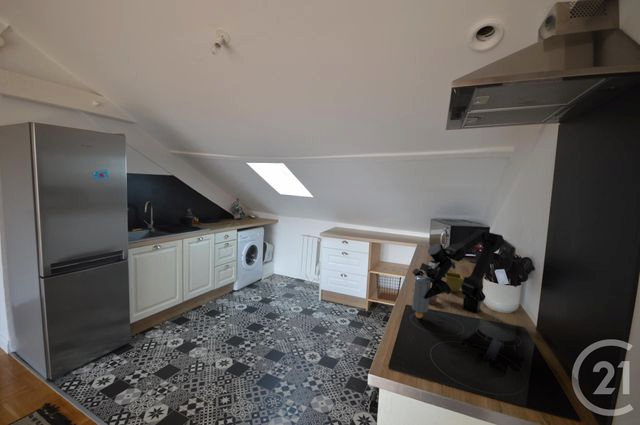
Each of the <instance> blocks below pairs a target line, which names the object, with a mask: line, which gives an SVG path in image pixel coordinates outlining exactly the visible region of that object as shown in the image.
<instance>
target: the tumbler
mask: <svg viewBox="0 0 640 425" xmlns="http://www.w3.org/2000/svg"><path fill="white" fill-rule="evenodd" d="M431 286H432V283H431V282H430V279H429V278H427V277H424V276H416V277H415V276H414V280H413V288H412V300H411V301H412V303H411V308H412V310H413V311H415V312H416V311H417V312H422V313H426V312H428V311H429V304H430V303H429V298H427V299H425V298H424V296H425V295H426V293H427V292H428V291H429V290H430V288H431Z"/></svg>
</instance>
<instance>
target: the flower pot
mask: <svg viewBox="0 0 640 425" xmlns="http://www.w3.org/2000/svg"><path fill="white" fill-rule="evenodd" d="M445 275H446V278H444V281H445V282H447V284H448V285H449V286H450V288H451V292H454V293H457V292H459V291H460V289H462V288H461V286H462V284H461V283H462V282H463V280H464V277H463V276H462V274H461V273H455V272H449V271H448V272H447V273H446V274H445Z"/></svg>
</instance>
